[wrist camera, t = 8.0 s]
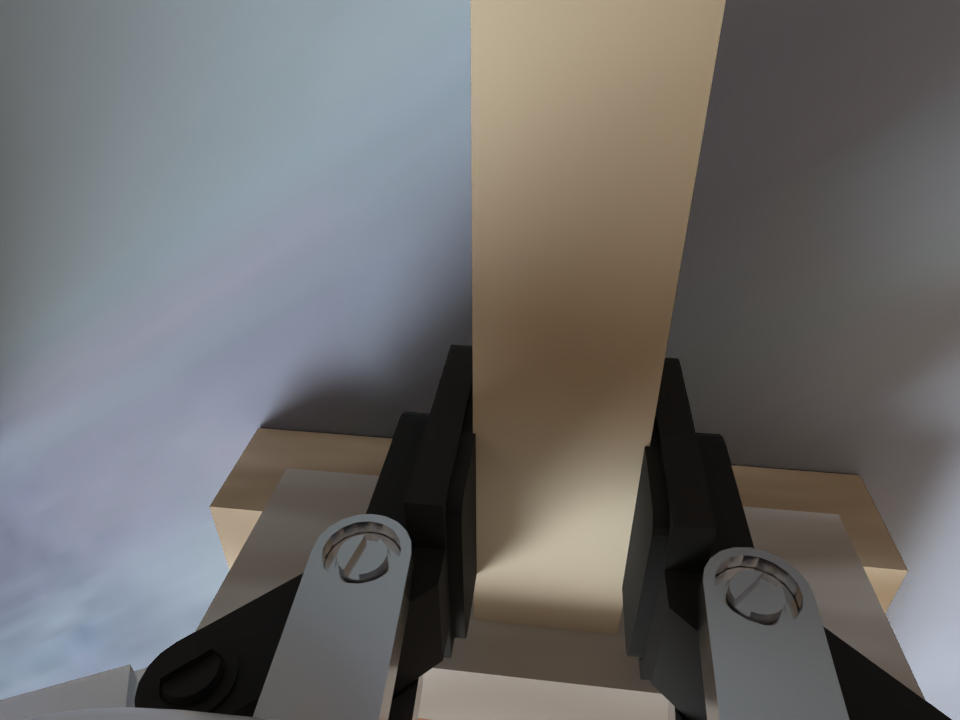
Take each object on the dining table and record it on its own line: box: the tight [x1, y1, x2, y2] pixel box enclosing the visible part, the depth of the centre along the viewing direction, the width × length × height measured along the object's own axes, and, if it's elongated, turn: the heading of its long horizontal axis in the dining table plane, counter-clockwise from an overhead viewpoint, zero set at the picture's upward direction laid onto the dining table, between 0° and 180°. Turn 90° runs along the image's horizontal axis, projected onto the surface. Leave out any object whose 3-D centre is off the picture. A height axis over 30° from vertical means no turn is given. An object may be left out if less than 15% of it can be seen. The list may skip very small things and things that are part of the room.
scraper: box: [196, 0, 925, 720], centre depth 10 cm, size 12×12×4 cm
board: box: [210, 428, 908, 613], centre depth 21 cm, size 14×16×3 cm
